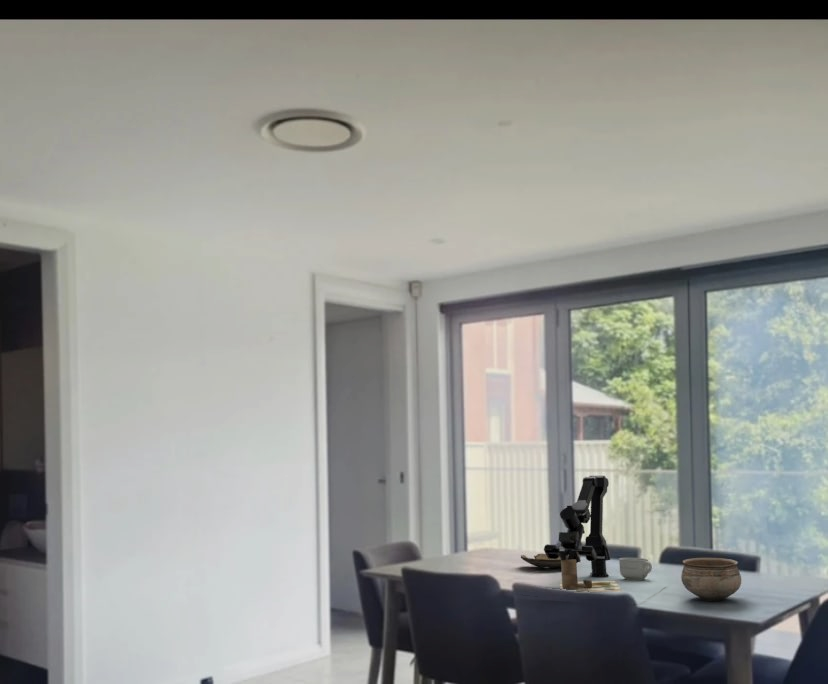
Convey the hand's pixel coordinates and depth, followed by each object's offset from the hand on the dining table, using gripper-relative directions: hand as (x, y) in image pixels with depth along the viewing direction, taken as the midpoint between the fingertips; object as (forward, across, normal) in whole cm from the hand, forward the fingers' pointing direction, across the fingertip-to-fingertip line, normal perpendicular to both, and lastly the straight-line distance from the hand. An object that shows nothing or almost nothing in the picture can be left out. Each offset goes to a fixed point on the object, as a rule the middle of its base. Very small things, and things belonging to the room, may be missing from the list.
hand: (565, 572), depth 292 cm
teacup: (-16, +17, +27) cm, 35 cm away
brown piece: (+1, +6, +7) cm, 10 cm away
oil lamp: (-29, -25, +41) cm, 56 cm away
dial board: (0, +6, +9) cm, 11 cm away
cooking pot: (+2, +50, +8) cm, 50 cm away
